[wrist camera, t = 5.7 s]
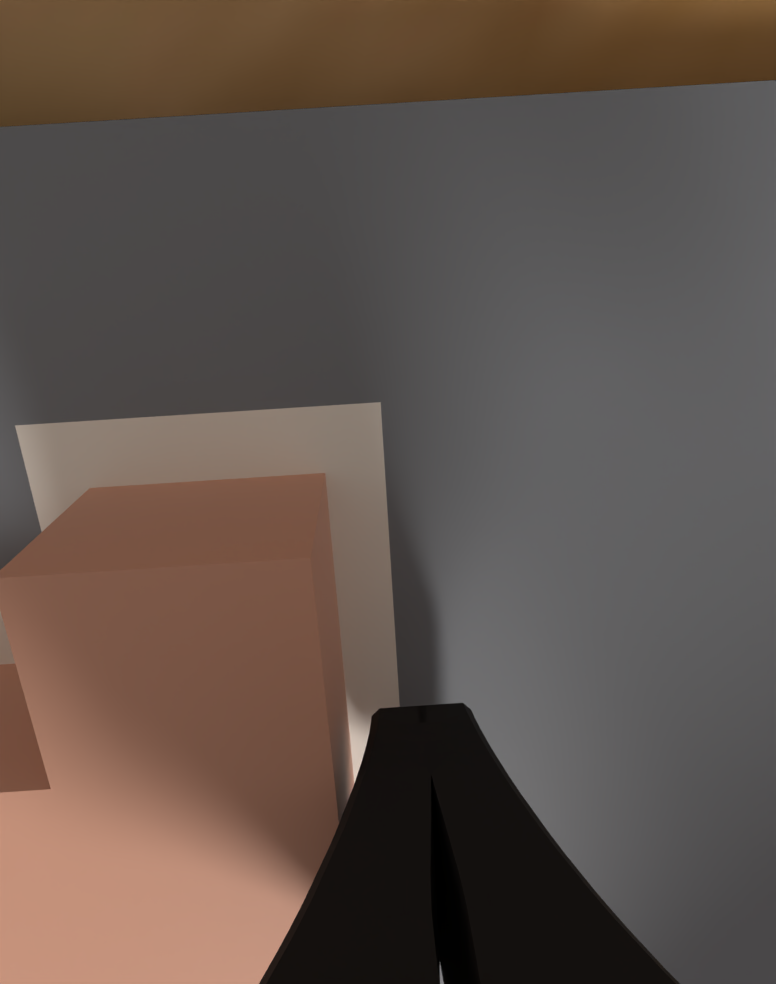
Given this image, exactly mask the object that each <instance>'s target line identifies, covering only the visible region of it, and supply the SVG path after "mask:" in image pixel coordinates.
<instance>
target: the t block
mask: <svg viewBox="0 0 776 984" xmlns="http://www.w3.org/2000/svg"><path fill="white" fill-rule="evenodd" d="M0 612H1V615H2V619H3V622H4V626H5V629H6V633H7V636H8V640H9V643H10V647H11V650H12V654H13V657H14V661H15V664H1V665H0V984H259V983H260V981H261V979H262V977H263V976H264V974H265V972H266V970H267V969H268V967H269V965H270V963H271V962H272V960H273V958H274V956H275V955H276V953H277V951H278V949H279V947H280V946H281V944H282V942H283V940H284V938H285V936H286V934H287V933H288V931H289V929H290V927H291V925H292V923H293V921H294V919H295V917H296V915H297V913H298V912H299V910H300V908H301V906H302V904H303V902H304V900H305V898H306V895H307V893H308V891H309V889H310V887H311V885H312V883H313V880H314V878H315V876H316V874H317V872H318V870H319V868H320V866H321V863H322V861H323V859H324V857H325V855H326V853H327V851H328V848H329V846H330V844H331V842H332V839H333V837H334V835H335V832H336V830H337V827H338V825H339V822H340V820H341V817H342V815H343V812H344V809H345V807H346V804H347V802H348V799H349V797H350V794H351V791H352V789H353V786H354V775H353V764H352V754H351V743H350V732H349V722H348V711H347V700H346V690H345V679H344V668H343V658H342V647H341V636H340V626H339V615H338V604H337V594H336V583H335V572H334V562H333V551H332V540H331V530H330V519H329V508H328V498H327V487H326V477H325V473H316V474H301V475H285V476H270V477H254V478H238V479H223V480H207V481H192V482H176V483H161V484H145V485H130V486H114V487H99V488H89V489H88V490H87V491H86V492H85V493H84V494H83V495H82V496H80V497H79V498H78V499H77V500H76V501H75V502H74V503H73V504H72V505H71V506H70V507H69V508H67V509H66V510H65V511H64V512H63V513H62V514H61V515H60V516H59V517H58V518H57V519H55V520H54V521H53V522H52V523H51V524H50V525H49V526H48V527H47V528H46V529H45V530H44V531H42V532H41V533H40V534H39V535H38V536H37V537H36V538H35V539H34V540H33V541H32V542H30V543H29V544H28V545H27V546H26V547H25V548H24V549H23V550H22V551H21V552H20V553H18V554H17V555H16V556H15V557H14V558H13V559H12V560H11V561H10V562H9V563H8V564H7V565H5V566H4V567H3V568H2V569H1V570H0Z"/></svg>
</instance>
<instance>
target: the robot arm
mask: <svg viewBox="0 0 776 984" xmlns="http://www.w3.org/2000/svg"><path fill="white" fill-rule="evenodd" d="M440 965H441V971H442V977H443V982H444V984H680V983H679V982H678V981H677V980H676V979H675V978H674V977H673V976H672V975H671V974H670V973H669V972H668V971H667V970H666V969H665V968H664V967H663V966H662V965H661V964H660V962H659V961H658V960H657V959H656V958H655V957H654V956H653V955H652V954H651V953H650V952H649V951H648V950H647V948H646V947H645V946H644V945H643V944H642V943H641V942H640V941H639V940H638V939H637V938H636V937H635V936H634V934H633V933H632V932H631V931H630V930H629V929H628V928H627V927H626V926H625V925H624V923H623V922H622V921H621V920H620V919H619V918H618V917H617V915H616V914H615V913H614V912H613V911H612V910H611V909H610V907H609V906H608V905H607V904H606V903H605V902H604V900H603V899H602V898H601V897H600V896H599V895H598V893H597V892H596V891H595V890H594V889H593V887H592V886H591V885H590V884H589V883H588V881H587V880H586V879H585V878H584V876H583V875H582V874H581V873H580V871H579V870H578V869H577V868H576V866H575V865H574V864H573V863H572V862H571V860H570V859H569V858H568V857H567V855H566V854H565V853H564V852H563V850H562V849H561V848H560V846H559V845H558V844H557V842H556V841H555V840H554V838H553V837H552V836H551V835H550V833H549V832H548V831H547V829H546V828H545V826H544V825H543V824H542V822H541V821H540V819H539V818H538V817H537V815H536V814H535V812H534V811H533V810H532V808H531V807H530V806H529V804H528V803H527V801H526V800H525V799H524V797H523V796H522V794H521V793H520V792H519V790H518V789H517V787H516V786H515V784H514V783H513V781H512V780H511V778H510V777H509V775H508V774H507V772H506V770H505V769H504V767H503V766H502V764H501V763H500V761H499V759H498V758H497V756H496V755H495V753H494V751H493V750H492V748H491V746H490V745H489V743H488V741H487V739H486V738H485V736H484V734H483V732H482V731H481V729H480V727H479V725H478V723H477V721H476V719H475V717H474V715H473V713H472V710H471V709H470V708H469V707H467V706H466V705H465V704H464V703H451V704H436V705H421V706H406V707H391V708H379V709H378V710H377V711H376V712H375V713H374V714H373V715H372V717H371V725H370V731H369V736H368V740H367V744H366V748H365V752H364V755H363V759H362V762H361V765H360V768H359V771H358V774H357V777H356V780H355V783H354V786H353V789H352V791H351V794H350V797H349V799H348V802H347V804H346V807H345V809H344V812H343V815H342V817H341V820H340V822H339V825H338V827H337V830H336V832H335V835H334V837H333V839H332V842H331V844H330V846H329V848H328V851H327V853H326V855H325V857H324V859H323V861H322V863H321V866H320V868H319V870H318V872H317V874H316V876H315V878H314V880H313V883H312V885H311V887H310V889H309V891H308V893H307V895H306V898H305V900H304V902H303V904H302V906H301V908H300V910H299V912H298V913H297V915H296V917H295V919H294V921H293V923H292V925H291V927H290V929H289V931H288V933H287V934H286V936H285V938H284V940H283V942H282V944H281V946H280V947H279V949H278V951H277V953H276V955H275V956H274V958H273V960H272V962H271V963H270V965H269V967H268V969H267V970H266V972H265V974H264V976H263V977H262V979H261V981H260V983H259V984H440Z"/></svg>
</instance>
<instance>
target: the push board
mask: <svg viewBox="0 0 776 984" xmlns="http://www.w3.org/2000/svg"><path fill="white" fill-rule="evenodd" d="M316 473H325V477H326V487H327V498H328V508H329V519H330V530H331V540H332V551H333V562H334V572H335V583H336V594H337V604H338V615H339V626H340V636H341V647H342V658H343V668H344V679H345V690H346V700H347V711H348V722H349V732H350V743H351V754H352V764H353V775H354V783H355V780H356V777H357V774H358V771H359V768H360V765H361V762H362V759H363V755H364V752H365V748H366V744H367V740H368V736H369V731H370V725H371V717H372V715H373V714H374V713H375V712H376V711H377V710H378V709H379V708H391V707H406V706H421V705H436V704H451V703H464V704H465V705H466V706H467V707H469V708H470V709H471V710H472V713H473V715H474V717H475V719H476V721H477V723H478V725H479V727H480V729H481V731H482V732H483V734H484V736H485V738H486V739H487V741H488V743H489V745H490V746H491V748H492V750H493V751H494V753H495V755H496V756H497V758H498V759H499V761H500V763H501V764H502V766H503V767H504V769H505V770H506V772H507V774H508V775H509V777H510V778H511V780H512V781H513V783H514V784H515V786H516V787H517V789H518V790H519V792H520V793H521V794H522V796H523V797H524V799H525V800H526V801H527V803H528V804H529V806H530V807H531V808H532V810H533V811H534V812H535V814H536V815H537V817H538V818H539V819H540V821H541V822H542V824H543V825H544V826H545V828H546V829H547V831H548V832H549V833H550V835H551V836H552V837H553V838H554V840H555V841H556V842H557V844H558V845H559V846H560V848H561V849H562V850H563V852H564V853H565V854H566V855H567V857H568V858H569V859H570V860H571V862H572V863H573V864H574V865H575V866H576V868H577V869H578V870H579V871H580V873H581V874H582V875H583V876H584V878H585V879H586V880H587V881H588V883H589V884H590V885H591V886H592V887H593V889H594V890H595V891H596V892H597V893H598V895H599V896H600V897H601V898H602V899H603V900H604V902H605V903H606V904H607V905H608V906H609V907H610V909H611V910H612V911H613V912H614V913H615V914H616V915H617V917H618V918H619V919H620V920H621V921H622V922H623V923H624V925H625V926H626V927H627V928H628V929H629V930H630V931H631V932H632V933H633V934H634V936H635V937H636V938H637V939H638V940H639V941H640V942H641V943H642V944H643V945H644V946H645V947H646V948H647V950H648V951H649V952H650V953H651V954H652V955H653V956H654V957H655V958H656V959H657V960H658V961H659V962H660V964H661V965H662V966H663V967H664V968H665V969H666V970H667V971H668V972H669V973H670V974H671V975H672V976H673V977H674V978H675V979H676V980H677V981H678V982H679V983H680V984H776V80H769V81H753V82H736V83H720V84H703V85H687V86H670V87H653V88H637V89H620V90H604V91H587V92H571V93H554V94H538V95H521V96H504V97H488V98H471V99H455V100H438V101H422V102H405V103H389V104H372V105H355V106H339V107H322V108H306V109H289V110H273V111H256V112H240V113H223V114H206V115H190V116H173V117H157V118H140V119H124V120H107V121H91V122H74V123H58V124H41V125H24V126H8V127H0V570H1V569H2V568H3V567H4V566H5V565H7V564H8V563H9V562H10V561H11V560H12V559H13V558H14V557H15V556H16V555H17V554H18V553H20V552H21V551H22V550H23V549H24V548H25V547H26V546H27V545H28V544H29V543H30V542H32V541H33V540H34V539H35V538H36V537H37V536H38V535H39V534H40V533H41V532H42V531H44V530H45V529H46V528H47V527H48V526H49V525H50V524H51V523H52V522H53V521H54V520H55V519H57V518H58V517H59V516H60V515H61V514H62V513H63V512H64V511H65V510H66V509H67V508H69V507H70V506H71V505H72V504H73V503H74V502H75V501H76V500H77V499H78V498H79V497H80V496H82V495H83V494H84V493H85V492H86V491H87V490H88V489H89V488H99V487H114V486H130V485H145V484H161V483H176V482H192V481H207V480H223V479H238V478H254V477H270V476H285V475H301V474H316ZM1 664H15V661H14V657H13V654H12V650H11V647H10V643H9V640H8V636H7V633H6V629H5V626H4V622H3V619H2V615H1V612H0V665H1ZM440 984H444V982H443V977H442V971H441V965H440Z"/></svg>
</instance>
